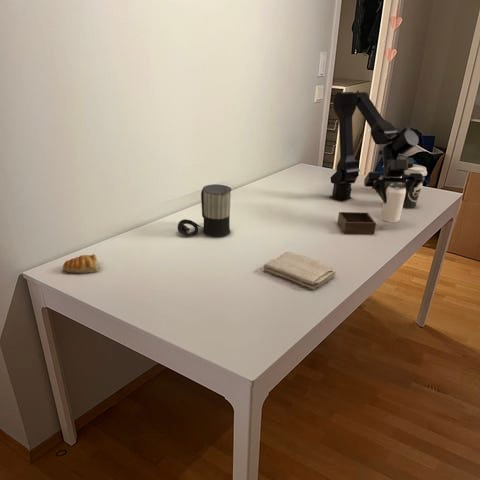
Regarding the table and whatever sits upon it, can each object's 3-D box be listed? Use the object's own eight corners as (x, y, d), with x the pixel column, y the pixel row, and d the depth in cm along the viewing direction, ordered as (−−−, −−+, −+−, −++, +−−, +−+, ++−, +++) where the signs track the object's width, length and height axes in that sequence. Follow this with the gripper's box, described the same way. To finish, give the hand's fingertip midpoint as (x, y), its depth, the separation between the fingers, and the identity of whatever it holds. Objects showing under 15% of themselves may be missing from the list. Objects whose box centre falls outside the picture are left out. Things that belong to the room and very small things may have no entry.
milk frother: (236, 232, 158) (237, 188, 150) (201, 245, 148) (201, 199, 140) (206, 221, 166) (206, 179, 158) (172, 233, 156) (170, 188, 148)
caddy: (337, 222, 169) (338, 212, 167) (365, 223, 170) (367, 212, 168) (343, 233, 160) (345, 222, 158) (374, 234, 161) (376, 223, 159)
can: (389, 224, 162) (396, 189, 155) (376, 217, 166) (383, 184, 160) (403, 221, 164) (411, 187, 158) (390, 215, 169) (397, 182, 162)
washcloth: (315, 291, 125) (316, 281, 124) (260, 271, 135) (261, 261, 133) (337, 276, 133) (338, 266, 132) (284, 258, 142) (285, 248, 141)
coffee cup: (416, 202, 192) (425, 164, 183) (421, 210, 183) (431, 171, 175) (392, 201, 192) (400, 163, 184) (396, 208, 184) (404, 169, 176)
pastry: (64, 276, 128) (61, 263, 126) (63, 265, 133) (61, 253, 131) (99, 272, 131) (98, 259, 129) (97, 262, 136) (96, 249, 134)
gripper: (373, 147, 155) (376, 191, 152) (428, 148, 156) (432, 192, 153) (362, 164, 166) (365, 206, 163) (414, 166, 167) (418, 207, 164)
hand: (395, 202), depth 161 cm, fingers closed on can, 6 cm apart
